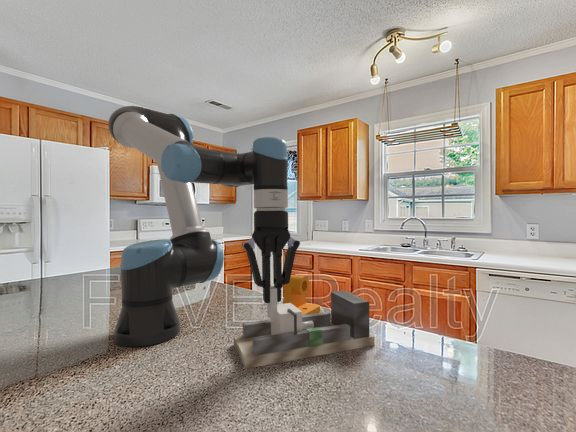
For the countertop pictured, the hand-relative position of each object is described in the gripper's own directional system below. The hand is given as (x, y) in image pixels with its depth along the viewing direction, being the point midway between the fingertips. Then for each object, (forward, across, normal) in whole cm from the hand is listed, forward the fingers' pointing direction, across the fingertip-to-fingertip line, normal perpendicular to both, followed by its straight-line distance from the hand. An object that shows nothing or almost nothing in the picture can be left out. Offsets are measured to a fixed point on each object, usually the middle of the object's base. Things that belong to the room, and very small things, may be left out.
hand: (272, 316), depth 70 cm
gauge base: (+8, +8, 0) cm, 11 cm away
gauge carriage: (+5, +5, -1) cm, 8 cm away
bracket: (+8, +14, +18) cm, 25 cm away
